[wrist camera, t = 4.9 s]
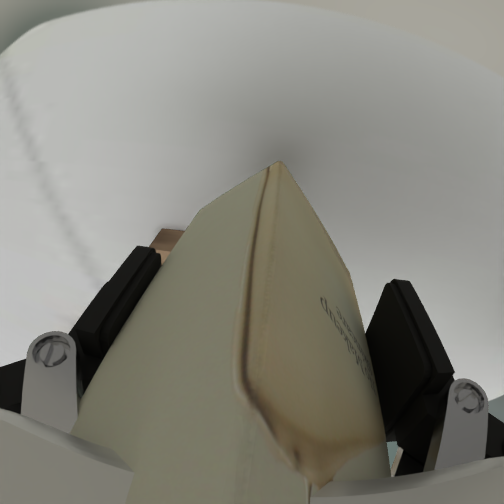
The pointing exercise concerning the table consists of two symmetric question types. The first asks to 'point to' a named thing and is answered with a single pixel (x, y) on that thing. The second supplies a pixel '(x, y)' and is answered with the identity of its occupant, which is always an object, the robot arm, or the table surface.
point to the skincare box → (242, 362)
